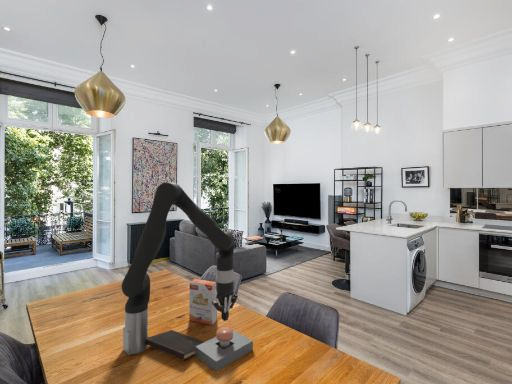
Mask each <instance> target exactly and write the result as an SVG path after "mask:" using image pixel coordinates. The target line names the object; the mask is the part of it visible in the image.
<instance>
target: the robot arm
mask: <svg viewBox="0 0 512 384" xmlns="http://www.w3.org/2000/svg"><path fill="white" fill-rule="evenodd" d="M151 205H152V206H151V209H150V212H149V214H148V218H147V220H146V222H145V225H144V227H143V230H142V233H141V235H140V238H139V241H138V245H137V247H136V249H135V252H134V256H133V257H132V261H131V264H130V266H129V268H128V269H127V272H126V274H125V276H124V278H123V279H122V283H121V292H122V294H123V295H124V296H125V297H126V298H127V300H126V302H125V304H124V327H123V328H122V350H123V352H125V353H126V355H127V356H130V355H136V354H140V353H143V352H144V351H146V350H147V349H148V346H149V345H147V344H146V340H147V338H148V337H149V323H148V322H149V302H150V297H151V295H150V294H151V278H150V275H149V274H148V270H149V267H150V265H151V264H152V262H153V261H154V259H155V258H156V257H157V255H158V253H159V251H160V249H161V247H162V244H163V242H164V240H165V236H166V232H167V219H168V218H167V217H168V214H169V212H170V211H171V207H172V206H173V205H175V206H176V207H177V208H178V209H180V210H181V211H182V212H183V213H184V214H185V215H186V217H188V219H189V221H190V222H191V223H192V225H194V227H195V228H197V229H198V231H200V232H201V233H202V234H203V235H204V236H206V237H207V239H208V240H209V241H210V242H211V244H212V245H213V246H214V247H215V248H217V250H218V254H217V257H216V274H215V275H216V276H215V279H216V280H215V282H216V291H217V296H216V300H215V301H212V304H213V306H214V307H215V308H216V309H217V312H220V313H221V319H222V321H223V322H226V321H228V320H229V317H230V315H229V314H230V310H232V309H233V308H234V305H235V303H236V301H237V299H238V294H236V293H234V290H235V282H234V281H235V272H234V250H235V237H234V235H233V233H232V232H230V231H223V230H222V228H220V227H219V224H218V223H217V222H216V220H214V219H213V218H212V217H211V216H210V215H209V214H208V213H206V212H205V211H204V210H203V209H201V207H199V206H198V204H196V203H195V202H194V201H193V200H192V199H191V198H190V196H188V194H187V193H186V192H185V190H184V189H183V188H182V187H181V185H179V184H178V183H176V182H171V181H170V182H169V181H166V182H165V181H163V182H161V184H159V185H158V186H157V188H156V190H155V193H154V197H153V202H152V204H151Z"/></svg>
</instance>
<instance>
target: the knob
mask: <svg viewBox="0 0 512 384" xmlns="http://www.w3.org/2000/svg"><path fill="white" fill-rule="evenodd" d="M233 330H234V328H233V329H232V327H228V326H223V327H220V328H218V329H217V330H216V337H217V340H219V341H220V347H222V348H223V349H226V348H227V347H229V346H230V340H232V338H233Z"/></svg>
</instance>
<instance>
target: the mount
mask: <svg viewBox="0 0 512 384" xmlns="http://www.w3.org/2000/svg"><path fill="white" fill-rule="evenodd" d="M253 350H254V341H253V339H250V338H249V337H247V336H245V335H243V334H241V333H240V332H238V331H236V330H234V329H233V338H232V340H230V346H229V347H227V348H222V347H220V341H219V340H217V336H214V337H212V338H211V339H207V340H206V341H204V343H202V344H200V345H198V346H196V352H195V354H196V355H194V356H195V357H196V358H197V359H199V360H200V361H201V362H202V363H204V364H205V365H206V366H208V367H209V368H210V369H212V370H213V371H214V372H215V373H217V372H218V371H220V370H221V369H223V368H226V367H227V366H228V365H230V364H232V363H233V362H235V361H237V360H239V359H240V358H242V357H244V356H245V355H247V354H248V353H251V352H252V351H253Z"/></svg>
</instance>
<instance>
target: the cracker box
mask: <svg viewBox="0 0 512 384" xmlns="http://www.w3.org/2000/svg"><path fill="white" fill-rule="evenodd" d="M216 296H217V291H216V281H212V280H205V279H198V278H194V279H193V280H190V281H189V302H188V303H189V304H188V305H189V307H188V308H189V310H188V312H189V315H188V317H189V318H188V319H189V321H191V322H197V323H200V324H204V325H208V326H213V325H214V324H215V323H216V322H217V321H218V310H217V309H216V308H215V307H214V306H213V304H212V301H215V300H216Z"/></svg>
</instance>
